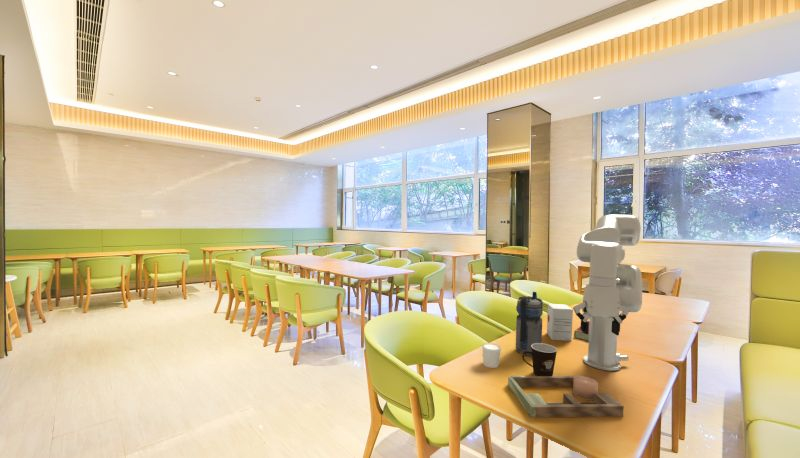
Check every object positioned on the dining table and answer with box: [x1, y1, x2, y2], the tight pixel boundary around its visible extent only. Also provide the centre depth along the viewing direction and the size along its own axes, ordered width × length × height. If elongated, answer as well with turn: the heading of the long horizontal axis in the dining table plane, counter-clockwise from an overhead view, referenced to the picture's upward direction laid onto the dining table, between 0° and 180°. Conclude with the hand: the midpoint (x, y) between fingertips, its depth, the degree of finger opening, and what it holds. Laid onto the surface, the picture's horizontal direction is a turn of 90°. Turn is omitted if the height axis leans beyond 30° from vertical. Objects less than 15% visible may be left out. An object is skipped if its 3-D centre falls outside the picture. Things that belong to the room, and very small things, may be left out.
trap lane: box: [507, 374, 625, 418], centre depth 108 cm, size 27×18×3 cm
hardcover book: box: [573, 320, 590, 342], centre depth 167 cm, size 12×21×4 cm, turn 137°
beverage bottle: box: [515, 291, 544, 357], centre depth 143 cm, size 10×13×25 cm
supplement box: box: [546, 303, 574, 342], centre depth 163 cm, size 9×9×15 cm
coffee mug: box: [521, 343, 558, 376], centre depth 124 cm, size 12×9×10 cm
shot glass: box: [481, 343, 502, 369], centre depth 132 cm, size 7×7×7 cm
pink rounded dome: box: [572, 375, 599, 401], centre depth 111 cm, size 7×7×4 cm
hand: (599, 333), depth 112 cm, fingers open, 9 cm apart
